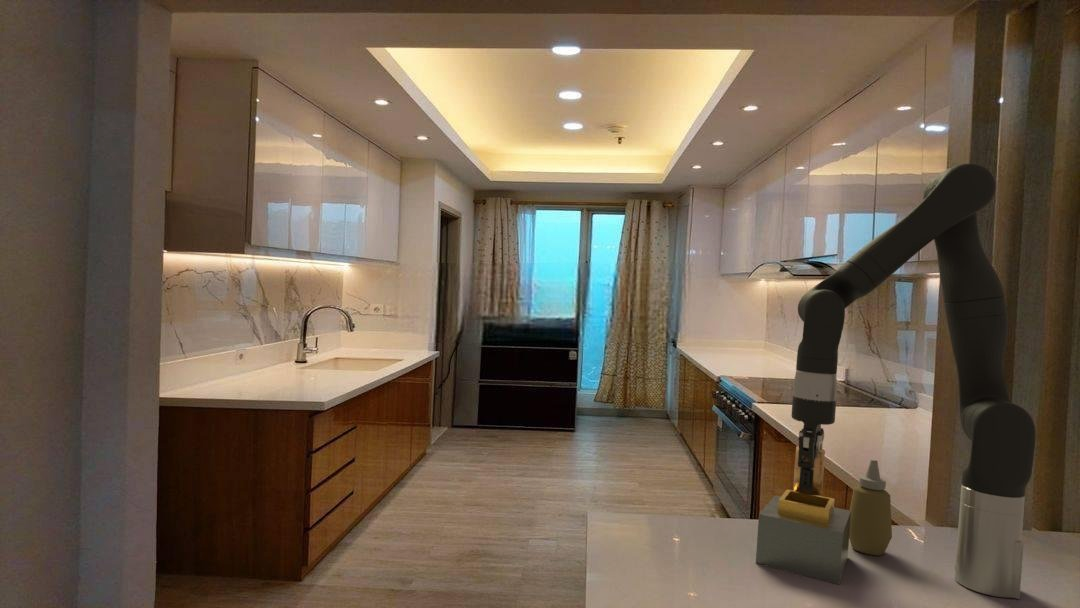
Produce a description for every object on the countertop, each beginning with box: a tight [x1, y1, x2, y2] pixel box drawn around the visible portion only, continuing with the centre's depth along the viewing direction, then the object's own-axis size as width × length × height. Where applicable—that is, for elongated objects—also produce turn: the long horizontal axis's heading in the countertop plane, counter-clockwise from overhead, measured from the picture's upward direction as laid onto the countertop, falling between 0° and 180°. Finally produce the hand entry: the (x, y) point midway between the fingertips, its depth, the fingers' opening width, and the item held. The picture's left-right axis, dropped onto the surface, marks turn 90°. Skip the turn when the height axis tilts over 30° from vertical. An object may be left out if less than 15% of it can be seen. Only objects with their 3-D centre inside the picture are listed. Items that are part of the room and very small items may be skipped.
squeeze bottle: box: [849, 459, 893, 556], centre depth 128 cm, size 8×8×18 cm
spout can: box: [792, 445, 826, 496], centre depth 120 cm, size 5×5×10 cm
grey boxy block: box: [755, 489, 851, 585], centre depth 120 cm, size 14×15×12 cm
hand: (808, 485), depth 120 cm, fingers closed on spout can, 5 cm apart
